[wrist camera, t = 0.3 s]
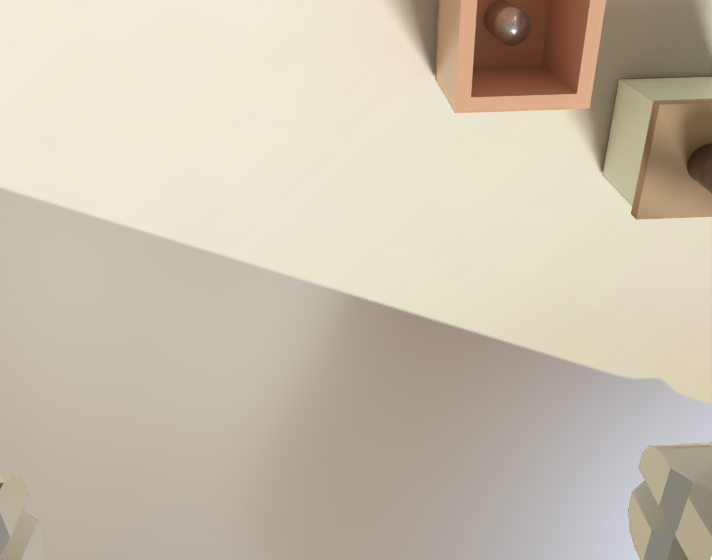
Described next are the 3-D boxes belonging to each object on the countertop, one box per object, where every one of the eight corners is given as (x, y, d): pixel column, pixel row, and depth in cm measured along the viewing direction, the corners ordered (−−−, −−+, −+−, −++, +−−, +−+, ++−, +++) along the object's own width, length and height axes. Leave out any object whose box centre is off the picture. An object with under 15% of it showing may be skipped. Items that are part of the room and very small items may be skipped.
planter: (439, -50, 48) (463, -37, 41) (565, -53, 49) (612, -41, 41) (435, 79, 53) (454, 113, 45) (550, 75, 53) (589, 108, 45)
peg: (485, 0, 49) (497, 9, 46) (518, -1, 50) (532, 8, 46) (482, 35, 51) (494, 46, 47) (514, 34, 51) (529, 45, 47)
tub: (618, 79, 54) (656, 104, 48) (719, 76, 54) (769, 100, 48) (602, 175, 58) (635, 210, 52) (696, 172, 58) (739, 205, 52)
